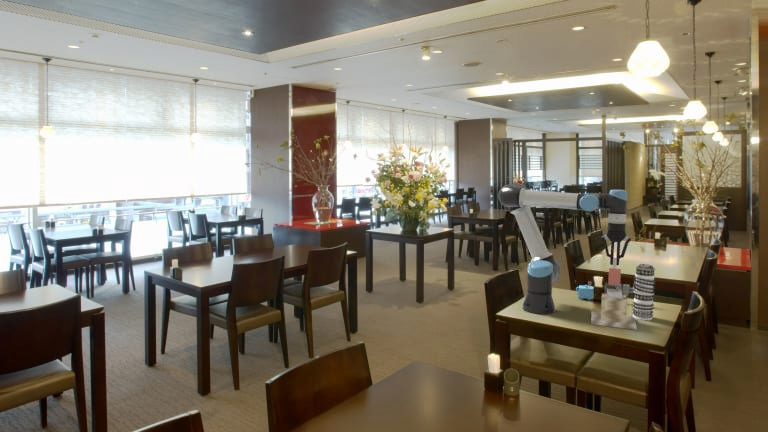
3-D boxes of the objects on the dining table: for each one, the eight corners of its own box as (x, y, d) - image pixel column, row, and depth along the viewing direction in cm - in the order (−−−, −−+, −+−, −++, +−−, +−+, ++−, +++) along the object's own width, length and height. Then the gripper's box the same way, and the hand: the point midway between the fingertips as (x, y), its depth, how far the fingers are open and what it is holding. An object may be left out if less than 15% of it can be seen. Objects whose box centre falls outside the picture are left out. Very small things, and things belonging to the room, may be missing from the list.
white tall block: (606, 317, 224) (607, 291, 223) (605, 313, 230) (607, 288, 229) (620, 319, 222) (622, 292, 221) (620, 315, 227) (621, 289, 226)
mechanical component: (636, 305, 254) (637, 286, 253) (615, 303, 256) (616, 284, 255) (635, 303, 257) (636, 284, 256) (613, 302, 259) (614, 283, 258)
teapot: (599, 299, 266) (600, 285, 265) (599, 301, 260) (600, 287, 259) (575, 296, 270) (576, 283, 270) (575, 299, 265) (575, 285, 264)
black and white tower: (626, 315, 236) (629, 263, 233) (641, 313, 239) (644, 262, 237) (643, 321, 227) (646, 267, 225) (658, 319, 231) (661, 266, 228)
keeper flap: (609, 268, 231) (609, 268, 232) (608, 285, 231) (608, 285, 232) (621, 269, 229) (620, 268, 230) (620, 286, 229) (619, 286, 230)
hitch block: (591, 324, 222) (593, 288, 221) (591, 314, 237) (593, 281, 235) (636, 329, 215) (638, 292, 214) (633, 319, 230) (635, 284, 228)
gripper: (601, 222, 234) (599, 272, 236) (632, 224, 229) (629, 274, 231) (601, 221, 241) (599, 269, 243) (631, 222, 236) (628, 271, 238)
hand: (614, 271), depth 237 cm, fingers closed
